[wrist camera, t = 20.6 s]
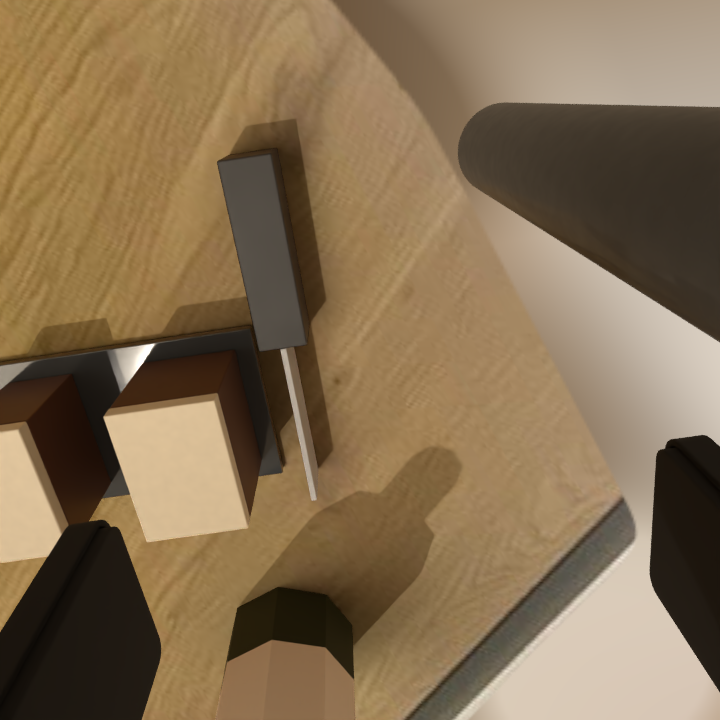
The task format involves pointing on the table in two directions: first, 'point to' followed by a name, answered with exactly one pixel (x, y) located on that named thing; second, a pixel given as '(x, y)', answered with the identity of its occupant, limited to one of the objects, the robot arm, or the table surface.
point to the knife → (270, 272)
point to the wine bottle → (289, 660)
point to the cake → (187, 446)
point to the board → (119, 364)
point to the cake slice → (45, 466)
